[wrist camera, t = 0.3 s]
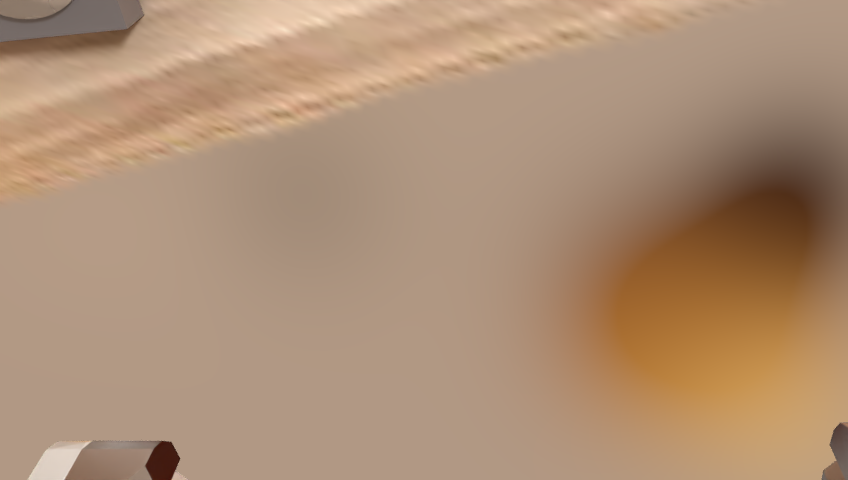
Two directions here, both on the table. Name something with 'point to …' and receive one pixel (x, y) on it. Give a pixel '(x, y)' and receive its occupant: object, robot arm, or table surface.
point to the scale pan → (31, 8)
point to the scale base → (74, 20)
